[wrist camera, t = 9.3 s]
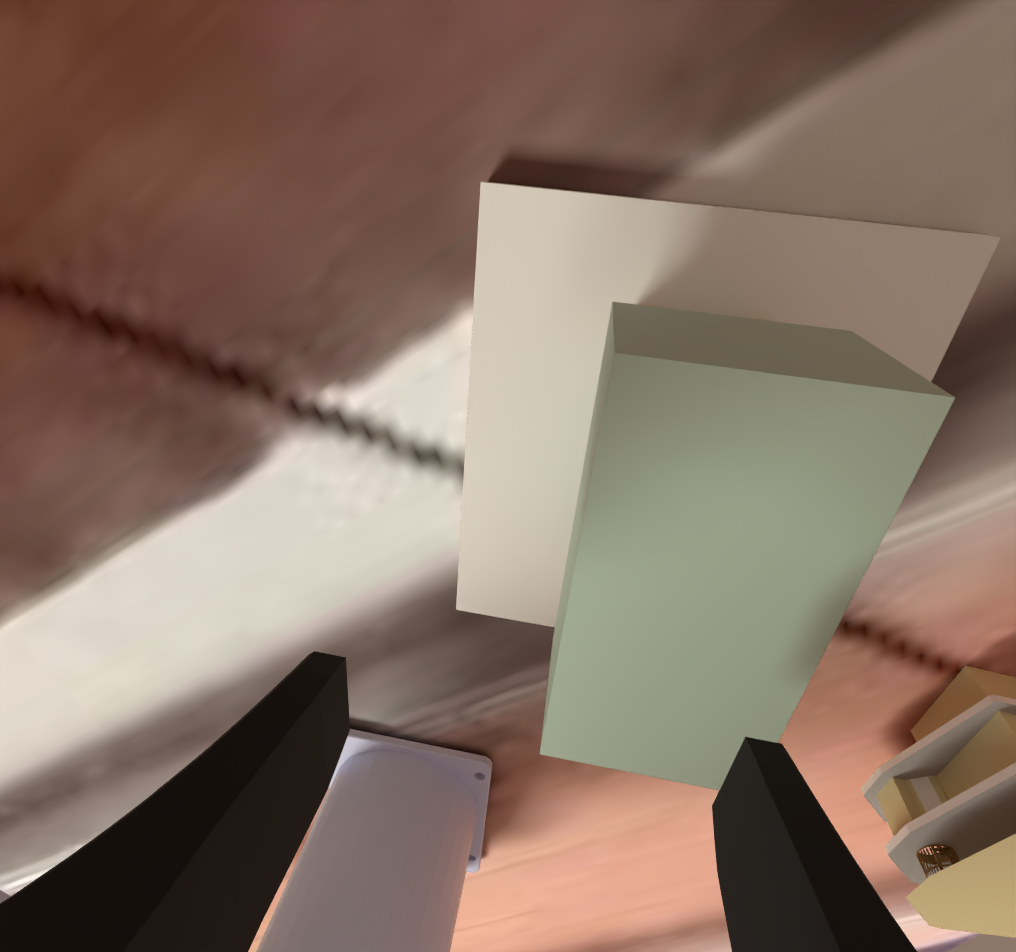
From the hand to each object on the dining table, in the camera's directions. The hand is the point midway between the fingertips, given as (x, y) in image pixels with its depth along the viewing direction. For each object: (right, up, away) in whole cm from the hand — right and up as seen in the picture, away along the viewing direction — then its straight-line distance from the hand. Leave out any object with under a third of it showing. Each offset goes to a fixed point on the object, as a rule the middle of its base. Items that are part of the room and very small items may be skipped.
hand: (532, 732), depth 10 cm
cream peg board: (+4, +5, +7) cm, 10 cm away
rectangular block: (+4, +4, +4) cm, 7 cm away
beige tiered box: (+16, -5, +11) cm, 20 cm away
